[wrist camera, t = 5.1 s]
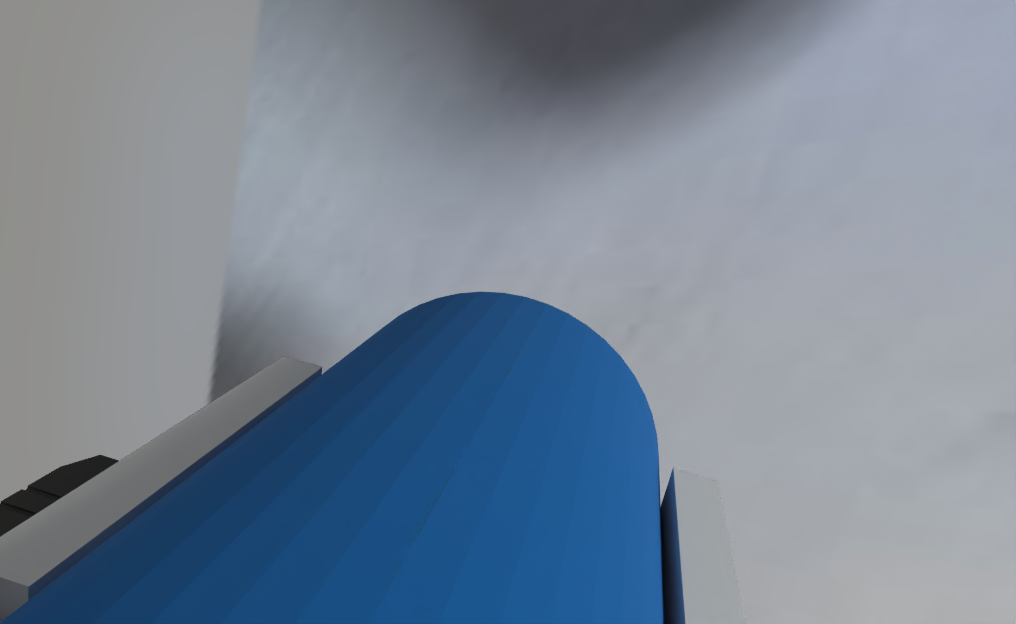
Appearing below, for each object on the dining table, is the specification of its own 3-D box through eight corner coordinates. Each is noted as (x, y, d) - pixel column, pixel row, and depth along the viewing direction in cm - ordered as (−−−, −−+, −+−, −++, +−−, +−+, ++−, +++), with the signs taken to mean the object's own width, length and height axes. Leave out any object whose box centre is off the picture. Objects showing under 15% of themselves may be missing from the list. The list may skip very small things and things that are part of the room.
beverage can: (484, 621, 16) (109, 1779, 5) (293, 404, 16) (-617, 1127, 4) (725, 467, 14) (1024, 1784, 3) (516, 216, 14) (-82, 631, 2)
